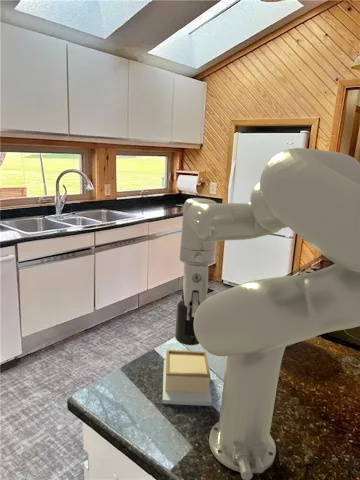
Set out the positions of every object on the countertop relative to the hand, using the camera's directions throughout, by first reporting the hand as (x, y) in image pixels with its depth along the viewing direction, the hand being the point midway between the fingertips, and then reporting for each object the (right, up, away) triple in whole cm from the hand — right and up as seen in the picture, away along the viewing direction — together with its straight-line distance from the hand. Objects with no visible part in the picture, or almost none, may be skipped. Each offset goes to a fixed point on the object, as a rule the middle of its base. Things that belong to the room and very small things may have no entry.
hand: (190, 326), depth 83 cm
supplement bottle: (0, -3, +1) cm, 3 cm away
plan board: (-1, -14, +3) cm, 15 cm away
